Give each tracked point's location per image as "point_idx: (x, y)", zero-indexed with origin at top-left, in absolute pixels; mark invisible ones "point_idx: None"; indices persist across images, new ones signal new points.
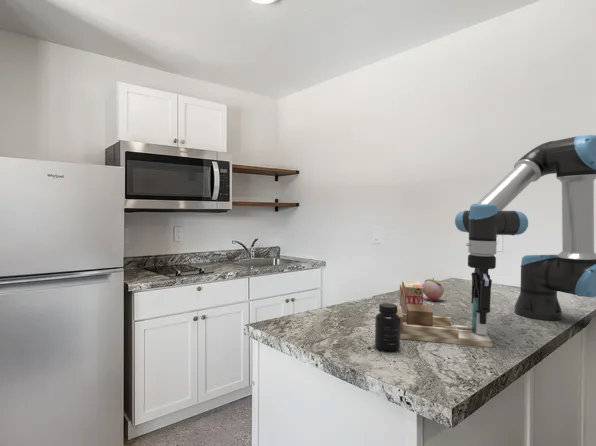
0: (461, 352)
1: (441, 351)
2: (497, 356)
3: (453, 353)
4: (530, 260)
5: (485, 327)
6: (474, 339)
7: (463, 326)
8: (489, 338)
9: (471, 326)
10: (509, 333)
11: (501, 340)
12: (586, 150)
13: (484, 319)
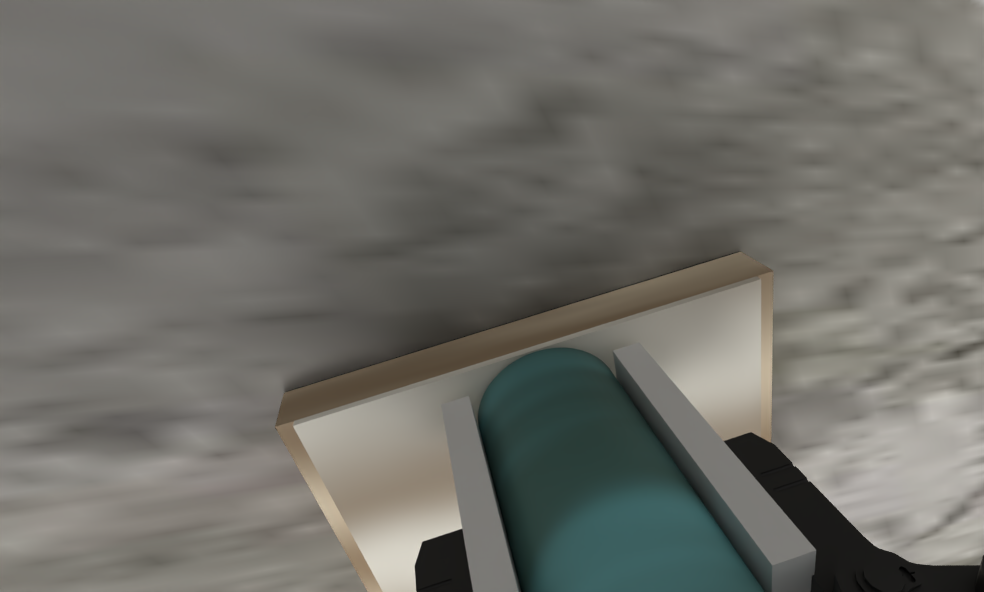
0: (901, 418)
1: (903, 502)
2: (945, 205)
3: (926, 449)
4: None
5: (681, 403)
6: (757, 406)
7: (389, 544)
8: (696, 306)
9: (336, 495)
10: (44, 73)
11: (474, 178)
12: None
13: (804, 492)
